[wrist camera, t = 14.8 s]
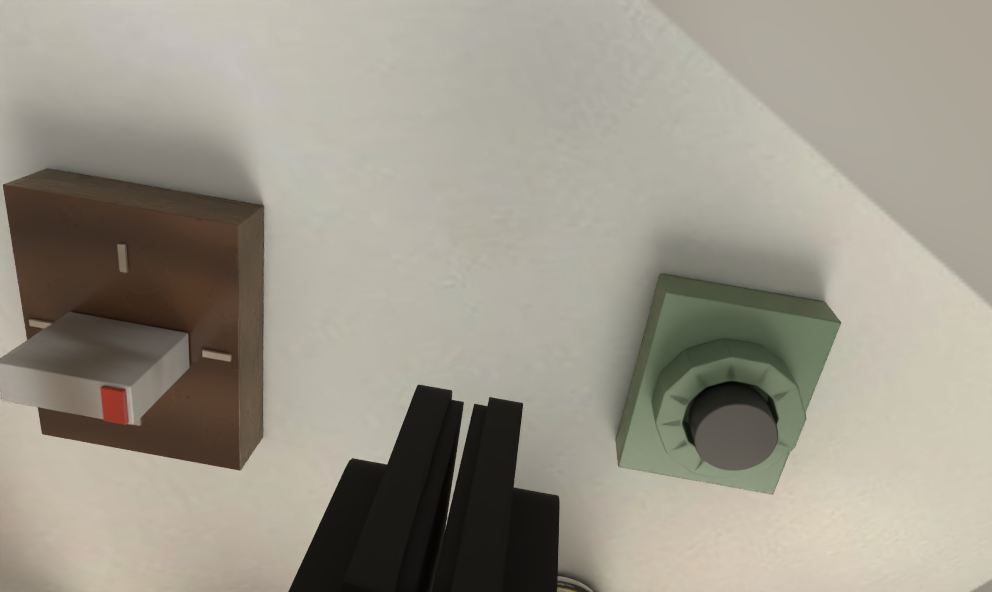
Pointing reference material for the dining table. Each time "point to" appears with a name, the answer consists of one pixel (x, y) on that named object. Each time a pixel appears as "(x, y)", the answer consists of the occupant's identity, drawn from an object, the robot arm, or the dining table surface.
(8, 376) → the red-tipped white block
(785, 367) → the switch block
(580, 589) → the pill bottle
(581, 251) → the dining table surface
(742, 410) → the button
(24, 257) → the brown dial block
